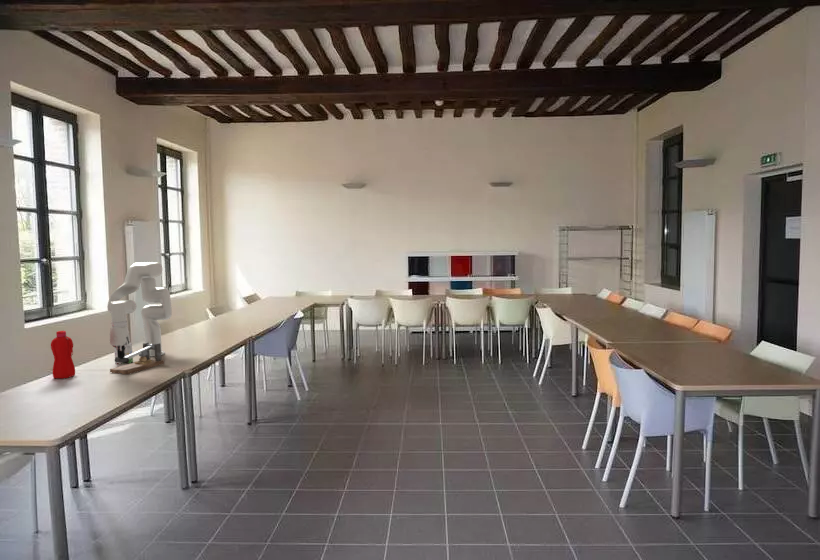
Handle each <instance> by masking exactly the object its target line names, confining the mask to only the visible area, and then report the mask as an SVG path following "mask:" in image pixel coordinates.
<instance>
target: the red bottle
mask: <svg viewBox="0 0 820 560" xmlns="http://www.w3.org/2000/svg"><path fill="white" fill-rule="evenodd" d="M72 339H73V338H71V337H70V336H67V332H66V330H58V331H56V337H55V338H53V339H52V340H51V342H50V349H51V352H52V355H53V359H54V360H53V365H52V377H53V378H54V379H60V380H61V379H63V380H64V378H65V379H68V378H71V377H74V376H75V375H76V369H75V364H74V361H73V357H72V356H73V355H74V342H73V340H72Z"/></svg>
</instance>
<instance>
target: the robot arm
mask: <svg viewBox="0 0 820 560" xmlns="http://www.w3.org/2000/svg"><path fill="white" fill-rule="evenodd" d="M162 272H163V265H162V263H161V262H157V261H155V262H153V261H151V262H150V261H149V262H148V261H147V262H145V261H144V262H142V261H141V262H134V263H133V264H132V265H130V266H129V267H128V269H127V272H126V275H125V278H124V281H123V283H122V285H120V286H119V287H117V288H116V289H115V290H113V291H112V293H110V296H109V300H108V302H107V311H108V312H109V313H110V318H111V319H110V320H111V321H110V322H111V323H110V324H111V327H110V330H109V344H110V345H111V346H112V347H113V348H114V347H115V348H116V350H117V352H118V358H123V357H125V352H124V350H125V348H126V347H129V343H131V338H130V330H129V327H128V319H127V318H128V317H127V314H132V313H134V312H135V311H136V309H137V303H136V302H135V301H134V300H132V299H122V298H124V297H126V296H128V295H131V294H134V293H135V292H137V291H138V290H139V289H141V296H142V297H141V298H142V301H143V302H144V303H146V304H147V305H144V306H143V307H142V308H141V309H140V310H141V311H140V313H141V314H140V315H141V318H142V321H143V333H144V343H149V344H157V343H160V345H161V356H163V355H165V354H166V353H165V352H166V351H164V350H163V348H162V346H163V345H162V331H161V325H160V323H159V322H158V321H161V320H169V319H171V317H172V312H173V311H172V301H171V292H170V290H168V288H167V287H157V282H156V281H157V280H156V278H157V277H159V276H161V275H162V274H163V273H162ZM140 287H141V288H140ZM122 346H123V347H122ZM149 353H150V357H155V350H149Z"/></svg>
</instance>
